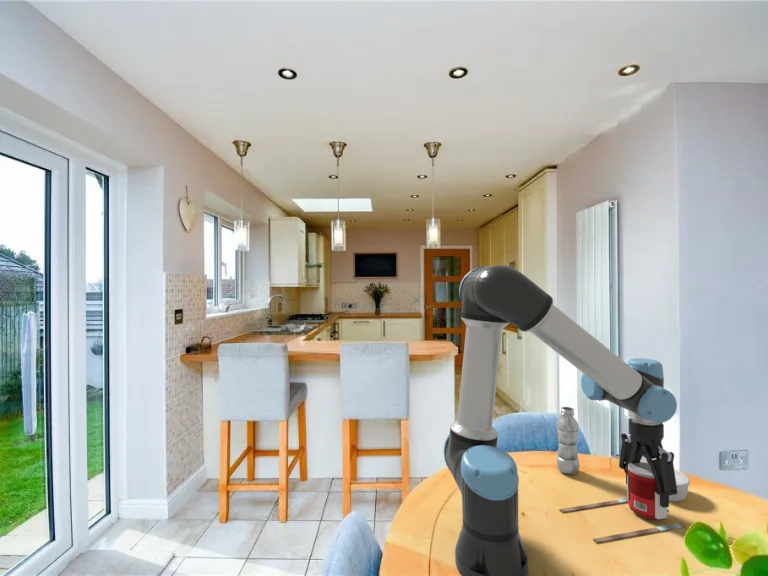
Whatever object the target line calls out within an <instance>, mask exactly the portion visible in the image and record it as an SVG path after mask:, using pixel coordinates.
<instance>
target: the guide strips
mask: <svg viewBox="0 0 768 576" xmlns="http://www.w3.org/2000/svg"><path fill="white" fill-rule="evenodd" d="M627 503H628V497H624V498H619V499H615V500H608V501H603V502H596V503H590V504H583V505H577V506H576V505H575V506H571V507H564V508H559V511H560V513H562V514H564V513H565V514H566V513H570V512H577V511H582V510H588V509H589V510H590V509H595V508H600V507H607V506H613V505H619V504H627ZM667 510H669V511H670V509H669V508H667ZM682 528H687V525H686V524H684V523H683V522H678V523H677V522H676V523H669V524H665V525H659V526H655V527H651V528H650V527H649V528H644V529H639V530H635V531H633V530H632V531H629V532H623V533H618V534H611V535H608V536H607V535H606V536H602V537H596V538H592V541H594V543H595V544H601V543H607V542H610V541H611V542H613V541H616V540H623V539H628V538H633V537H639V536H644V535H650V534H655V533H660V532H665V531H672V530H676V529H682Z"/></svg>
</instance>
